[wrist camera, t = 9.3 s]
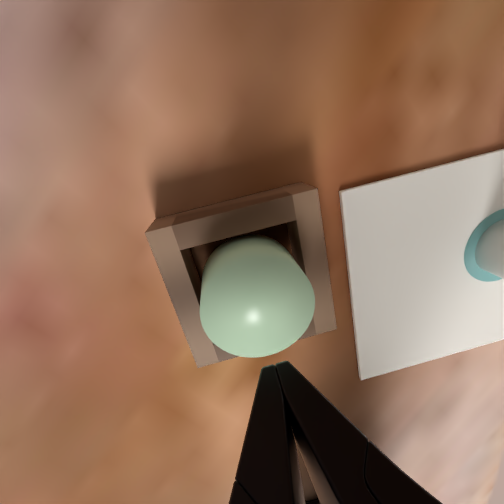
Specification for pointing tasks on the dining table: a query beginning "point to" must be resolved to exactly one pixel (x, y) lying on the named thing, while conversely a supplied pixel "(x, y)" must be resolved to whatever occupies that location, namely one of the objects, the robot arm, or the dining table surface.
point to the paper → (423, 263)
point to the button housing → (232, 224)
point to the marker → (491, 250)
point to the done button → (254, 297)
